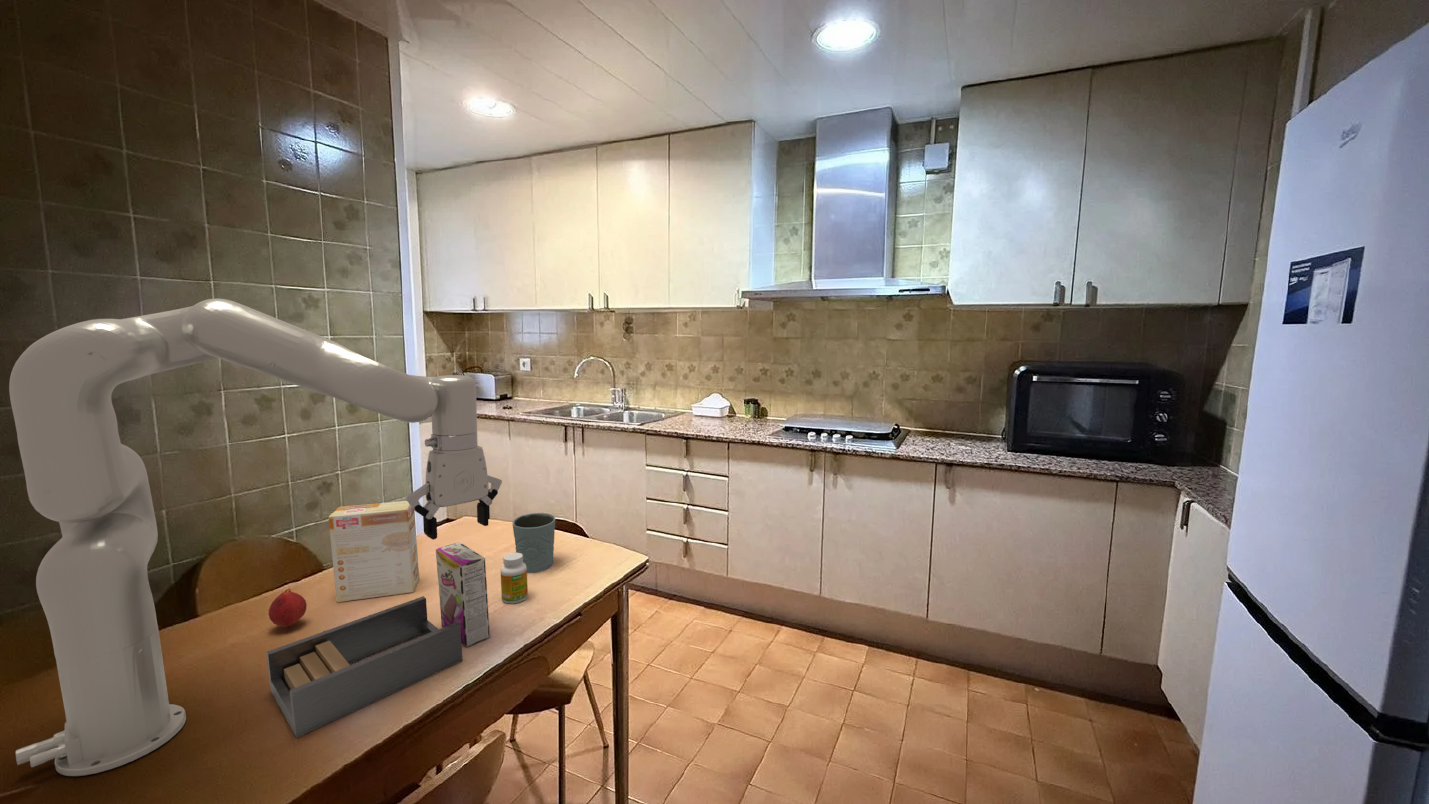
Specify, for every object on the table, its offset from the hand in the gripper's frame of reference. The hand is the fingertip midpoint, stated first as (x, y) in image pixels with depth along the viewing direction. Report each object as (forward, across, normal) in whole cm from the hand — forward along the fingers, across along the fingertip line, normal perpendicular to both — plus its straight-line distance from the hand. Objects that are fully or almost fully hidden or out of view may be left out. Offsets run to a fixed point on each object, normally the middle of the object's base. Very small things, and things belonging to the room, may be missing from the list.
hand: (458, 530), depth 102 cm
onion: (+22, -21, +28) cm, 41 cm away
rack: (+21, -16, -1) cm, 27 cm away
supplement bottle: (+21, +14, +5) cm, 25 cm away
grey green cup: (+20, +26, +16) cm, 37 cm away
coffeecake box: (+21, -4, +31) cm, 38 cm away
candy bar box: (+21, +1, 0) cm, 21 cm away
